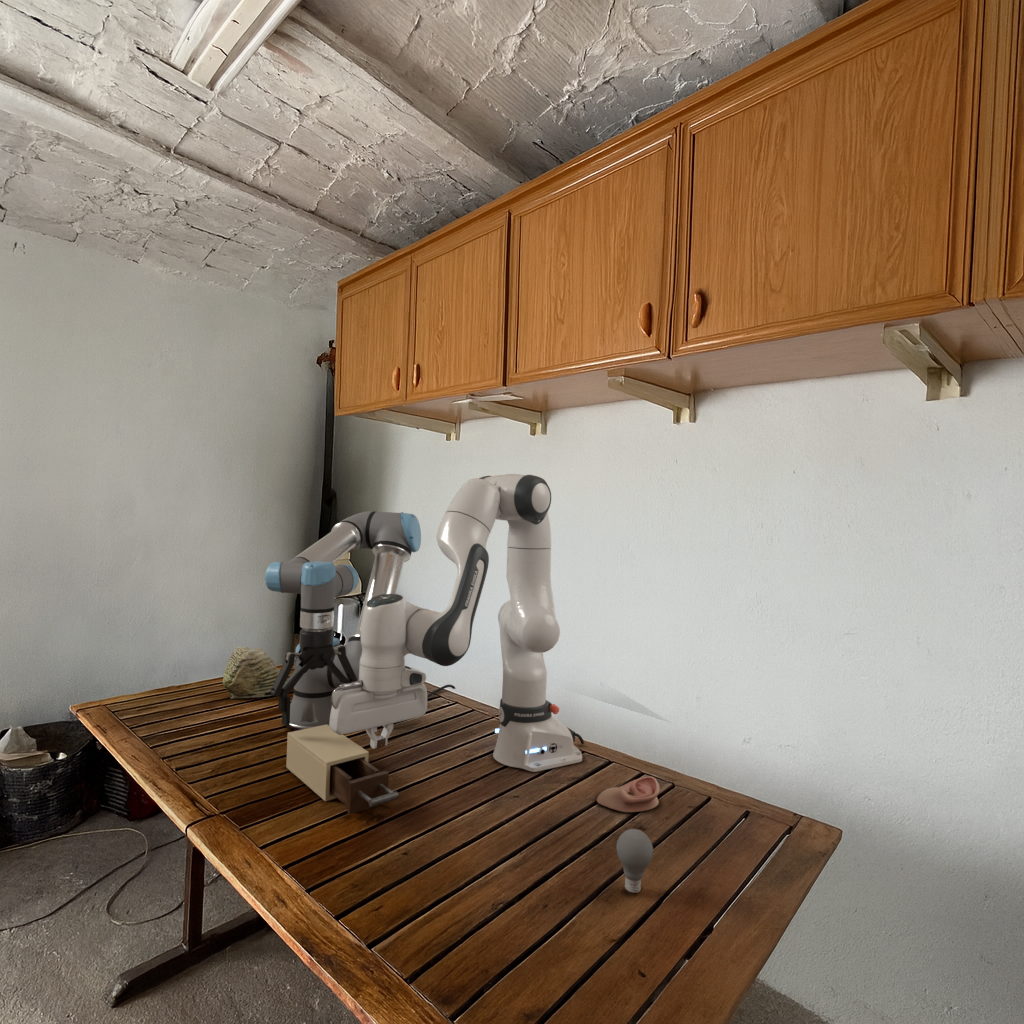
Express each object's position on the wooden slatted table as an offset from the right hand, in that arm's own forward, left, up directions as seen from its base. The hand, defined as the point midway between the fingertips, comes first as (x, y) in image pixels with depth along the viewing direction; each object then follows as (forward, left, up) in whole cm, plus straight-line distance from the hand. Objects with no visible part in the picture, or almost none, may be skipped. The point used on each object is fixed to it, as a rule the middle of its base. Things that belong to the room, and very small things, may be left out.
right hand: (378, 746), depth 126 cm
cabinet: (+8, -21, -14) cm, 27 cm away
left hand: (+11, -28, -3) cm, 30 cm away
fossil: (+26, -86, -14) cm, 91 cm away
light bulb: (-38, +35, -14) cm, 53 cm away
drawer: (+4, -9, -13) cm, 16 cm away
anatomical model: (-53, +7, -14) cm, 56 cm away
